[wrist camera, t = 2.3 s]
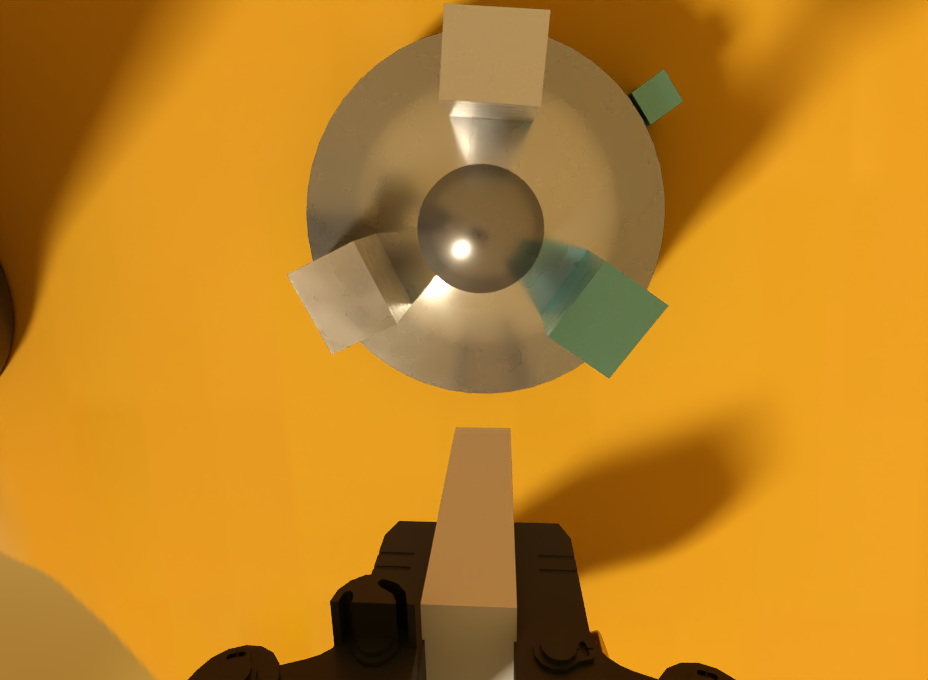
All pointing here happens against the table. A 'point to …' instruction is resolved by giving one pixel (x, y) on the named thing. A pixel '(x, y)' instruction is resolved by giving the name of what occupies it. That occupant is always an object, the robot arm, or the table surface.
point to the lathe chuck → (485, 210)
